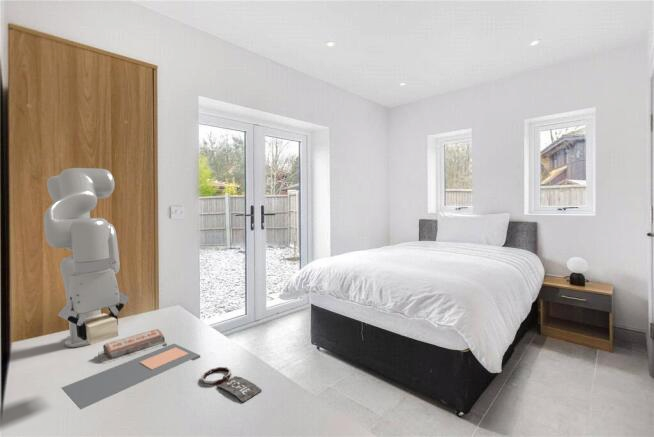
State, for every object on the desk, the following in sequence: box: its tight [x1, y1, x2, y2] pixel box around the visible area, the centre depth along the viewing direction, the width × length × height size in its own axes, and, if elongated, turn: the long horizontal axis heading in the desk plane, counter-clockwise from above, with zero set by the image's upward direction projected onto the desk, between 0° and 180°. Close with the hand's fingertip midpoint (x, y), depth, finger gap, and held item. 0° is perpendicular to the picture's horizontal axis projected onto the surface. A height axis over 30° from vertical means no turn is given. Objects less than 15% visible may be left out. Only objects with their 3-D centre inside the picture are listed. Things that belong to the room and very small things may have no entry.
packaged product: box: [98, 328, 168, 365], centre depth 104 cm, size 18×5×10 cm
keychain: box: [200, 366, 263, 403], centre depth 81 cm, size 8×19×2 cm, turn 50°
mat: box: [61, 343, 201, 410], centre depth 90 cm, size 16×30×1 cm, turn 143°
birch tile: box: [84, 312, 119, 346], centre depth 83 cm, size 9×6×4 cm, turn 53°
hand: (98, 333), depth 83 cm, fingers closed on birch tile, 6 cm apart
